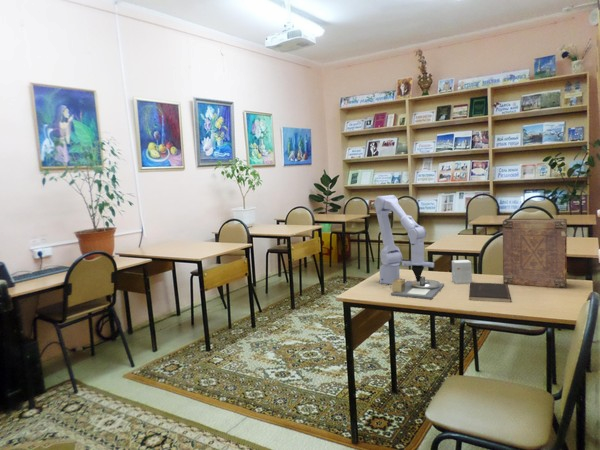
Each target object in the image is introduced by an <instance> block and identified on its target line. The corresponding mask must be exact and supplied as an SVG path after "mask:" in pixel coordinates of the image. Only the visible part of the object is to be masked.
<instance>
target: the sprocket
mask: <svg viewBox="0 0 600 450" xmlns="http://www.w3.org/2000/svg"><path fill="white" fill-rule="evenodd" d="M412 281H413V282H412V283H411V285H412V287H414V288H419V289H435V288H438V287H440V281H438V280H434V279H426V276H421V277H420V281H419V282H417V280H416V279H415V280H412Z"/></svg>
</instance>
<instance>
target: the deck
mask: <svg viewBox="0 0 600 450" xmlns="http://www.w3.org/2000/svg"><path fill="white" fill-rule="evenodd" d="M413 281H414V280H405V290H404V291H403V292H402V293H396V292H393V291H392V292H391V294H390V295H391V296H392V297H393V296H395V297H404V298H414V299H422V300H424V299H425V300H433V298H434V297H435V296H437V294H438V293H439V292H441V290H442V289H443V288H444V287H445V283H443V282H441V283H440V287H438V288H435V289H430V292H429V293H428V294H427V295H426V296H421V295H410V294H407V293H408V292H409V291H410V290H411V289H412V288H414V287H412V285H411V283H412V282H413Z"/></svg>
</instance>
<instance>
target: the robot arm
mask: <svg viewBox="0 0 600 450" xmlns="http://www.w3.org/2000/svg"><path fill="white" fill-rule="evenodd" d="M373 203H374V208H375V213H376V216H377V221H378V226H379V231H380V234H381V239H382V244H383V248H382V249H381V251H380V261H381V263H382V264H381V265H380V266H379V284H385V285H386V284H387V285H392V281H394V280H395V279H396V278H398V279H401V278H400V273H401V272H400V265H401V266H403V267H404V266H410V267H411V270H412V271H413V274H414V276H415V280H417V282H419V281H420V277H422V276H421V275H422V273H423V271H424V268H435V262H431V261H425V242H424V241H425V240H424V239H425V238H426V236H427V231H426V228H425V227H424V225H419V223H417V222H416V221H415V219H414V218H413V216H412V215H411V214H409V215H408V214H407V213H406V212H405V211H404V209H403V208H402V207H401V205H400V204H399V199H398V198H397V196H396V195H394V194H390V195H378V196H376V197H375V200H374V202H373ZM390 212H393V213H394V214H395V215H396V216H397V218H398V219H399V220H400V224H401V226H402V227H403V228H404V229H405V231H406V232H407V236H408V239H409V243H410V253H411V254H410V256H411V257H410V258H411V259H410V260H403V259H404V258H403V254H402V252H401V250H400V247H398V246H397V245H395V240H394V237H393V231H392V227H391V226H392V225H391V223H390V219H389V214H390Z"/></svg>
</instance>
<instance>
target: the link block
mask: <svg viewBox="0 0 600 450" xmlns="http://www.w3.org/2000/svg"><path fill="white" fill-rule="evenodd" d="M405 282H406V279H405V278H400V279H398V278H396V279H395V280H394V281H392V284H391V285H392V292H396V293H402V292H403V291H404V290H405Z"/></svg>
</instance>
